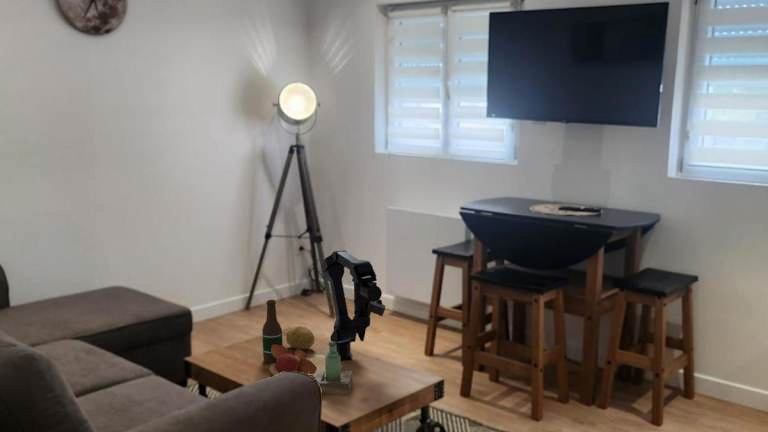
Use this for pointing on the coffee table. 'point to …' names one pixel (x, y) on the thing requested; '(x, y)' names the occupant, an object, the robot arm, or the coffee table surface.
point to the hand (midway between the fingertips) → (362, 337)
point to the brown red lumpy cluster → (291, 360)
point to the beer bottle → (271, 333)
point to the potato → (300, 338)
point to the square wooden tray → (335, 384)
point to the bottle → (332, 363)
